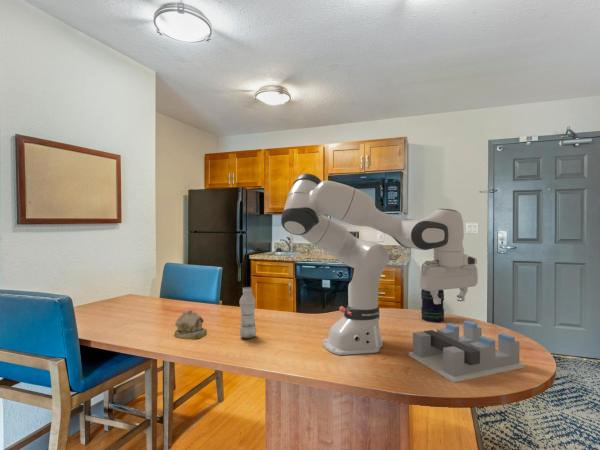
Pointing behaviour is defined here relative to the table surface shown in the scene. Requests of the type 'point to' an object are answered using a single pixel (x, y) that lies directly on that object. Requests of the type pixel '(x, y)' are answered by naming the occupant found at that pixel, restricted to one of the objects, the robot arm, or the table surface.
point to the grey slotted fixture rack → (453, 358)
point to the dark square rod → (443, 341)
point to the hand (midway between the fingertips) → (449, 302)
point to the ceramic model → (190, 326)
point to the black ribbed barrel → (432, 307)
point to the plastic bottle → (247, 313)
